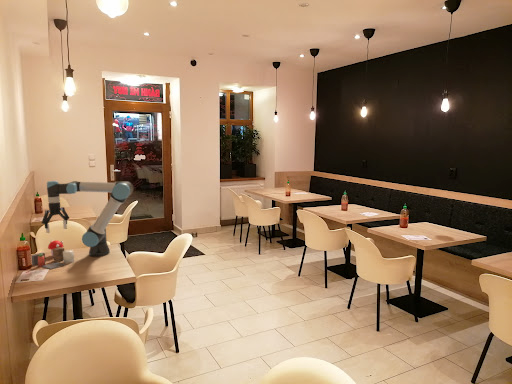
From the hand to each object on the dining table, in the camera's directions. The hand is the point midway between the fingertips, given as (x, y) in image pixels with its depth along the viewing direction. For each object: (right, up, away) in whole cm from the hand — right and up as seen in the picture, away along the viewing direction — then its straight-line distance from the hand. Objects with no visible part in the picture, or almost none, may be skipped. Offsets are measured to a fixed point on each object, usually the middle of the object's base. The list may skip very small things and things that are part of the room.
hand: (56, 230), depth 282 cm
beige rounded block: (+9, -23, 0) cm, 25 cm away
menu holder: (-11, -24, -3) cm, 26 cm away
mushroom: (-8, -21, +15) cm, 27 cm away
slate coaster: (+3, -24, -9) cm, 26 cm away
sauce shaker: (-6, -24, -9) cm, 26 cm away
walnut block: (0, -22, +4) cm, 23 cm away
